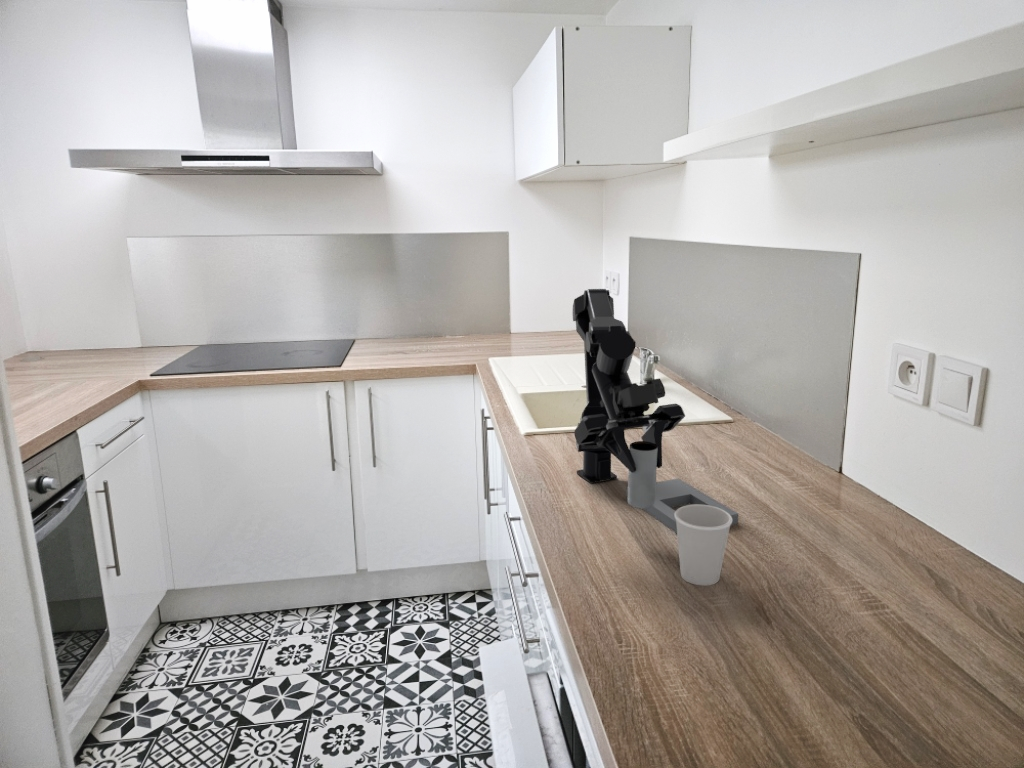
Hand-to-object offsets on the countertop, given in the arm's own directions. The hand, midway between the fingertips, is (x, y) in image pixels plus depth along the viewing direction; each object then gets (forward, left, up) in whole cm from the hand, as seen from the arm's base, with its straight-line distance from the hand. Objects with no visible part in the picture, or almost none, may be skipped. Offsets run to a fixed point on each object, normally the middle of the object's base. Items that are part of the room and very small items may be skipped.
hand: (647, 469), depth 112 cm
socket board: (-8, +13, -13) cm, 20 cm away
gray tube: (-1, 0, -7) cm, 7 cm away
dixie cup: (+13, +2, -13) cm, 18 cm away
